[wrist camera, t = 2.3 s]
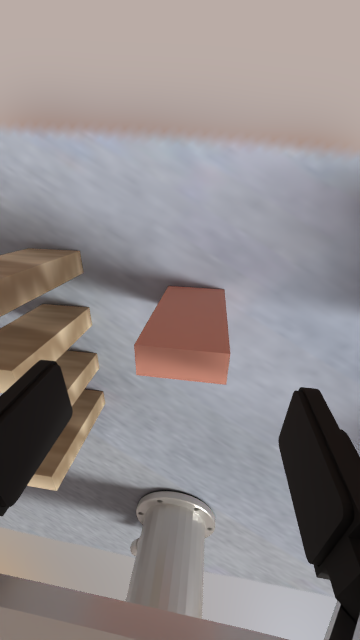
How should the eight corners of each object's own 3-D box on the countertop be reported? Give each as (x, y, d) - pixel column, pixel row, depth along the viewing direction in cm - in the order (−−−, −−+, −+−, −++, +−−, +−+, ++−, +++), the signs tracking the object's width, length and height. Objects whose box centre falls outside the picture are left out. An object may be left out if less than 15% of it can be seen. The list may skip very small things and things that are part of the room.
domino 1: (83, 272, 22) (-8, 320, 13) (34, 269, 23) (-85, 313, 14) (79, 250, 21) (-20, 286, 12) (28, 248, 22) (-103, 280, 13)
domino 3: (99, 368, 27) (41, 449, 18) (58, 363, 27) (-18, 440, 19) (96, 353, 26) (34, 431, 17) (54, 349, 27) (-27, 422, 18)
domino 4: (105, 403, 29) (56, 490, 20) (67, 398, 30) (4, 481, 21) (103, 391, 28) (51, 477, 20) (64, 386, 29) (-3, 467, 20)
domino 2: (92, 325, 24) (21, 395, 16) (47, 321, 25) (-46, 386, 16) (89, 307, 24) (12, 370, 15) (42, 304, 24) (-59, 362, 15)
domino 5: (222, 310, 22) (225, 384, 13) (168, 306, 22) (136, 374, 13) (224, 289, 21) (230, 353, 12) (168, 285, 21) (134, 344, 12)
